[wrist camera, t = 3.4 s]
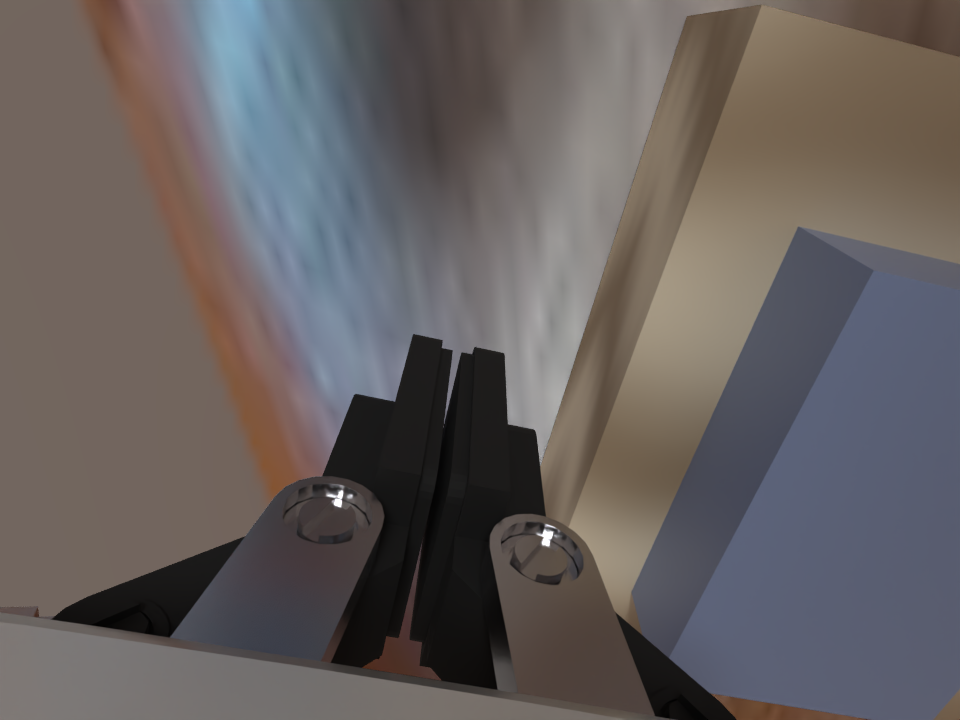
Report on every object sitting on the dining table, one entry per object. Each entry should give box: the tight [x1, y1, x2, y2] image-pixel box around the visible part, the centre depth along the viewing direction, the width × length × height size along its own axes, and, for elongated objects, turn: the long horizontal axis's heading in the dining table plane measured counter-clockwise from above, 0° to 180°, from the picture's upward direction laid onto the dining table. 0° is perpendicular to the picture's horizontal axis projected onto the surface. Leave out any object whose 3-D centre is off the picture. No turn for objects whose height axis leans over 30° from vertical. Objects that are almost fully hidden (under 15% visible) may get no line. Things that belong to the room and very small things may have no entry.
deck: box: [540, 5, 960, 720], centre depth 15 cm, size 15×12×4 cm
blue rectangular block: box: [631, 226, 960, 720], centre depth 12 cm, size 9×6×2 cm, turn 168°
